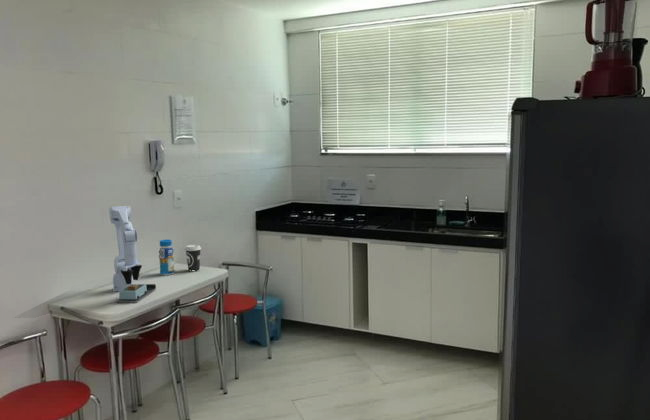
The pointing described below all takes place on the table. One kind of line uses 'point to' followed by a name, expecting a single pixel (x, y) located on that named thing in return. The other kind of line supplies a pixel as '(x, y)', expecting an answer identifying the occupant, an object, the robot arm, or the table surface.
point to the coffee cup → (193, 257)
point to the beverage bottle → (166, 257)
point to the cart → (133, 292)
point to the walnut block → (132, 287)
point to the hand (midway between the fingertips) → (132, 281)
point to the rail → (149, 290)
